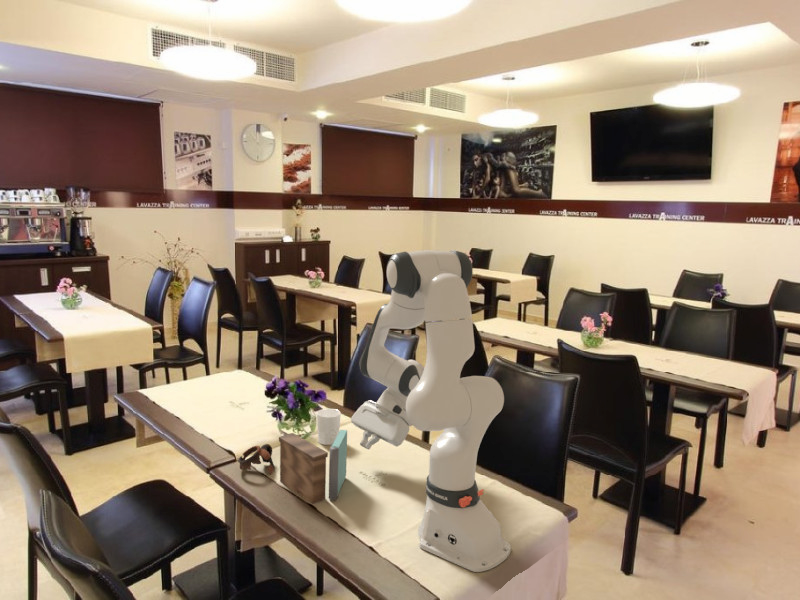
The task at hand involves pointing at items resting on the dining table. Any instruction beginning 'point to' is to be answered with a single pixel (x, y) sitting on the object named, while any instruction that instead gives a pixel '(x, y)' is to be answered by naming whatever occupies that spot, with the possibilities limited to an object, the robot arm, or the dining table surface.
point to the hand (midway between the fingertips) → (364, 447)
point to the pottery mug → (257, 457)
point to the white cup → (328, 425)
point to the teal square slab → (337, 464)
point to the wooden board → (303, 467)
